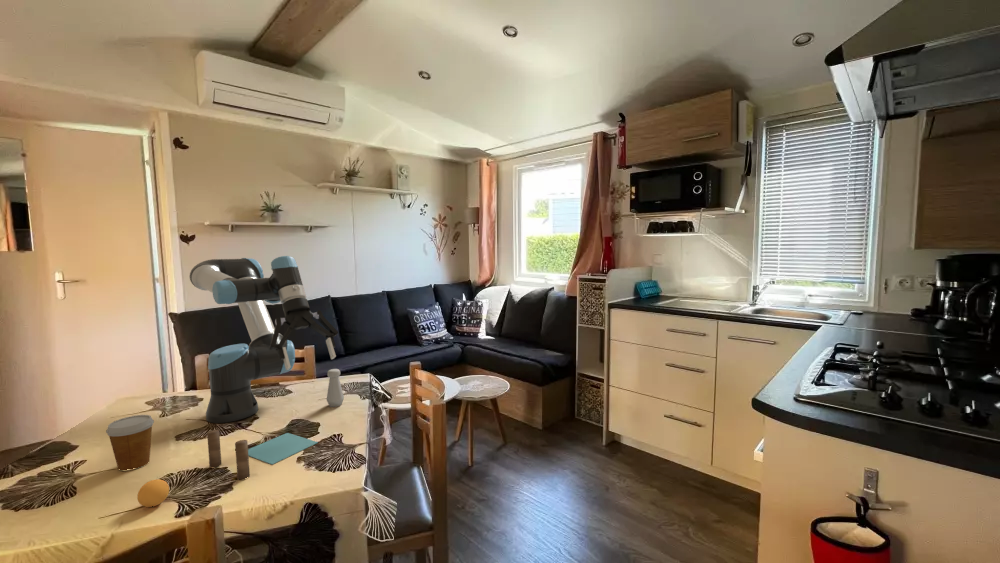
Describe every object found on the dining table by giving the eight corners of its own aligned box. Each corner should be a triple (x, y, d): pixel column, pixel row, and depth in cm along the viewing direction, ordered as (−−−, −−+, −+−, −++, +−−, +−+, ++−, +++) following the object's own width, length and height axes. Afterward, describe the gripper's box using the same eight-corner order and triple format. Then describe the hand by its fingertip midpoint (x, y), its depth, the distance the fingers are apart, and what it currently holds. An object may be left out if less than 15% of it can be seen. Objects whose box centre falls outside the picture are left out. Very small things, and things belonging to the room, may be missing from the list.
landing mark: (241, 453, 118) (241, 452, 118) (287, 433, 130) (287, 432, 130) (272, 464, 111) (272, 464, 111) (318, 442, 123) (318, 442, 123)
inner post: (207, 466, 111) (205, 433, 110) (218, 461, 113) (215, 429, 113) (213, 468, 110) (210, 435, 109) (223, 464, 112) (221, 431, 111)
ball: (133, 508, 94) (131, 484, 93) (163, 495, 98) (161, 472, 98) (145, 515, 91) (143, 490, 90) (175, 501, 96) (173, 478, 95)
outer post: (235, 478, 105) (232, 443, 104) (245, 473, 107) (243, 438, 107) (241, 481, 104) (238, 445, 103) (252, 475, 106) (249, 441, 105)
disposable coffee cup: (129, 457, 117) (125, 415, 116) (165, 455, 118) (162, 413, 117) (99, 475, 107) (94, 429, 106) (139, 473, 108) (135, 427, 107)
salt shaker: (346, 402, 156) (345, 367, 155) (339, 408, 150) (337, 372, 149) (331, 402, 156) (329, 367, 155) (323, 407, 151) (321, 372, 150)
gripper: (253, 302, 126) (270, 370, 121) (336, 291, 143) (354, 350, 138) (249, 312, 132) (265, 377, 126) (329, 300, 148) (347, 357, 143)
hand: (311, 363), depth 132 cm, fingers open, 13 cm apart
